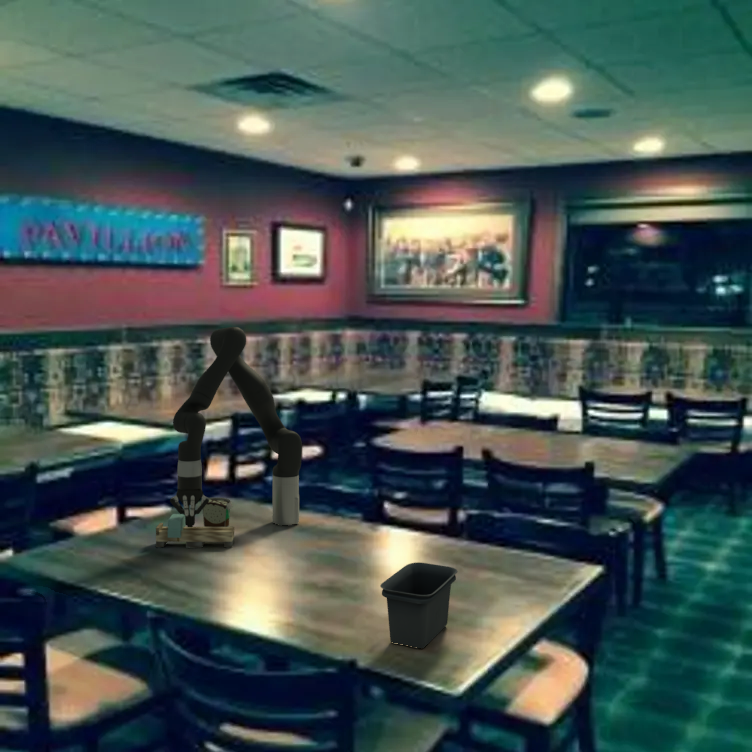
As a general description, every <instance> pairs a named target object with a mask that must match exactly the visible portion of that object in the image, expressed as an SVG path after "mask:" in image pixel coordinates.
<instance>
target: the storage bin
mask: <svg viewBox="0 0 752 752" xmlns="http://www.w3.org/2000/svg"><path fill="white" fill-rule="evenodd" d="M457 573H458V569H457V568H455V567H452V566H445V565H440V564H433V563H427V562H411V563H408V564H406V565H404V566H403V567H401V568H400V569H399V570H398V571H396V572H395V573H394V574H393V575H391V576H390V577H389V578H387V579H386V580H384V581H383V582H382V583H380V588H381V589H382V590H381V595H382V596H383V597H384V598H386V604H387V615H388V616H387V617H388V628H389V639H390V641H389V642H390V643H391V642H393V643H398V644H403V645H408V646H412V647H417V648H423V649H425V648H426V647H427V646H428V645H427V644H429V643H430V642H432V641H433V639H434V638H435V637H436V636H437V635H438V634H440V632H441V631H442V630H443V629H444V628H445V627H446V626H447V624H448V620H449V609H450V608H449V607H450V597H451V588H452V587H451V586H452V584H454V582H455V581H457V580H456V579H457V576H456V574H457ZM393 643H392V644H393ZM426 645H427V646H426ZM425 646H426V647H425ZM412 647H411V648H412ZM424 647H425V648H424ZM417 648H416V649H417Z"/></svg>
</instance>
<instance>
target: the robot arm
mask: <svg viewBox="0 0 752 752" xmlns="http://www.w3.org/2000/svg"><path fill="white" fill-rule="evenodd" d="M209 339H210V340H209V342H210V343H209V344H210V347H211V349H212V351H213V353H214V354H215V356H216V357H215V359H214V361H213V362H212V363H211V364H210V365H209V367H207V368H206V370H205V371H204V372H203V373H202V374H201V375H200V377H199V378H198V380H197V382H196V383H195V385H194V387H193V390H191V393H190V396H189V397H188V398H187V399H186V400H185V401H184V403H182V405H181V406H180V407H179V408H178V409H177V411H176V412H175V414H174V416H173V420H172V425H173V429H174V430H175V431H176V432H178V433H181V434H188V435H187V438H186V440H183V441H181V442H179V443H178V446H177V450H178V451H177V452H178V454H177V455H178V456H177V459H178V460H177V461H178V462H177V471H176V472H177V473H176V474H177V491H176V494H175V495H174V496H172V497H171V498H170V500H169V503H170V504H171V505H172V506H173V507H174V508H175V510H176V511H177V512H178V514H184V515H185V524H186V527H194V526H195V525H196V515H199V514H201V512H202V511H203V508H204V507H205V505H206V504H207V503H208V502H209V500H210V498H211V497H207V496H205V495H204V491H203V487H202V486H203V484H202V483H203V482H202V481H203V479H202V478H203V476H202V475H203V471H202V468H203V467H202V466H203V465H202V458H201V457H202V456H201V455H202V454H201V453H202V451H201V450H202V449H201V447H202V444H203V440H204V436H205V433H206V427H207V423H206V418H205V416H204V415H203V414H202V413H200V412H202V411H205V410H208V409H209V407H211V404H212V403H213V400H214V398H215V396H216V394H217V391H218V390H219V388H220V386H221V384H222V382H223V380H224V379H225V378H226V376H227V374H228V375H230V377H231V379H232V380H233V382H234V384H235V386H236V387H237V389H238V391H239V393H240V394H241V397H242V398H243V399H244V402H245V403H246V406H247V407H248V408H249V409H250V412H251V413H252V414H253V416H254V418H255V420H256V421H257V422H258V424H259V426H260V428H261V430H262V432H263V433H264V434H263V435H264V437H265V440H266V441H267V443H268V446H269V447H270V449H271V450H272V452H273V453H275V454H277V464H276V465H273V467H272V516H271V517H272V524H273V523H275V524H274V525H276V524H279V525H278V526H282V525H288V526H292V525H291V524H297V525H299V523H300V488H299V487H300V484H299V483H300V479H299V478H300V470H301V466H302V455H303V443H302V438H301V436H300V435H299V434H298V433H297V432H296V431H294V430H291V429H287V428H286V426H285V425H284V424H283V422H282V421H281V419H280V417H279V416H278V414H277V410H276V406H275V403H276V402H275V400H274V396H273V393H272V391H271V390H270V387H269V386H268V384H267V382H266V380H265V379H264V378H263V376H261V375H260V373H258V372H257V371H256V370H255V369H253V368H252V367H251V366H250V365H249V364H247V362H245V360H244V359H243V358H242V357H241V354H242V353H243V351H244V349H245V347H246V346H247V335H246V333H245V332H244V330H243V329H242V328H240V327H238V326H228V327H223V328H218V329H216V330H214V331H213V332H211V334H210V338H209ZM179 501H180V502H179ZM200 501H201V502H202V504H201V502H200ZM199 502H200V505H199V507H198V508H197V507H196V506H197V504H198V503H199ZM180 503H181V504H180ZM182 505H183V506H182ZM298 522H299V523H298Z"/></svg>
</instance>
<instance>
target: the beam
mask: <svg viewBox="0 0 752 752" xmlns="http://www.w3.org/2000/svg"><path fill="white" fill-rule="evenodd" d="M168 542H170V543H171V542H172V543H173V542H176V543H177V542H178V543H179V542H184V543H185V549H202V548H203V547H204V545H205V543H207V542H214V543H215V542H217V543H219V542H221V543H222V542H224V543H223V545H224V547H232V546H233V547H234V545H235V526H229V527H204V526H193V527H187V526H186V527H184V528H183V530H181V538H168V526H164V523H163V522H159V524H158V525H157V526H156V528H155V545H156V546H155V548H156V547H164V546H165V547H166V546H167V544H168ZM166 543H167V544H166ZM202 546H203V547H202ZM165 547H164V548H165ZM224 547H223V548H224ZM233 547H232V548H233Z"/></svg>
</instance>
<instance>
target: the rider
mask: <svg viewBox="0 0 752 752" xmlns="http://www.w3.org/2000/svg"><path fill="white" fill-rule="evenodd" d="M167 527H168V538H181V530H183V528H184V527H187V525H186V524H185V515H184V514H180V513H172V514H171V516H170V517H169V518H168V519H167Z"/></svg>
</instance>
